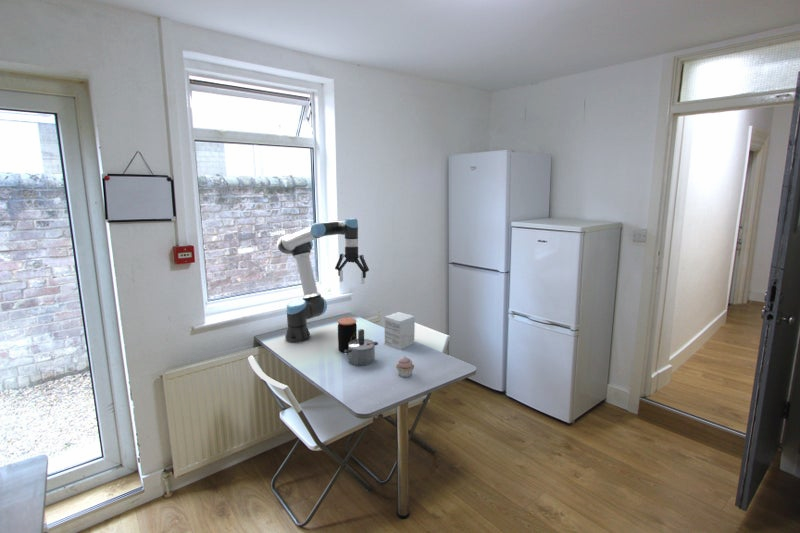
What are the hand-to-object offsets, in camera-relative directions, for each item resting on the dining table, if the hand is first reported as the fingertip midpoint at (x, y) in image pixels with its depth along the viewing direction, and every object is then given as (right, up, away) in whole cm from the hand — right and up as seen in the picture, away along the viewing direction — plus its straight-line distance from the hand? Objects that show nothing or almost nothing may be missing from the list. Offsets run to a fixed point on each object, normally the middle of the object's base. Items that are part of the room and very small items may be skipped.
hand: (352, 282), depth 231 cm
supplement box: (+27, -38, +11) cm, 48 cm away
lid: (+7, -35, -14) cm, 38 cm away
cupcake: (+30, -46, -29) cm, 62 cm away
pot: (+7, -42, -13) cm, 45 cm away
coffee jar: (-3, -39, +1) cm, 40 cm away
